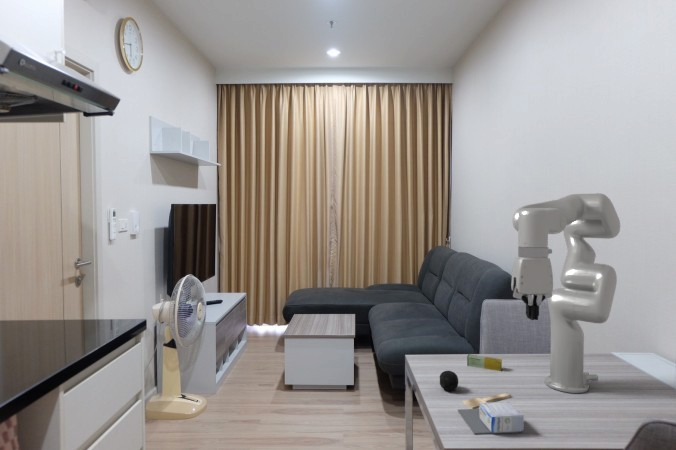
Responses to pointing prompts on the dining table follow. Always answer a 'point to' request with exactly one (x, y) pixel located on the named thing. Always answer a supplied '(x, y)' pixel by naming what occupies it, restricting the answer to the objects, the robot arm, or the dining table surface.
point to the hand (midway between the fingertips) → (532, 318)
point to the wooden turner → (485, 400)
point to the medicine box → (501, 417)
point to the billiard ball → (448, 380)
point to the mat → (476, 422)
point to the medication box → (484, 362)
